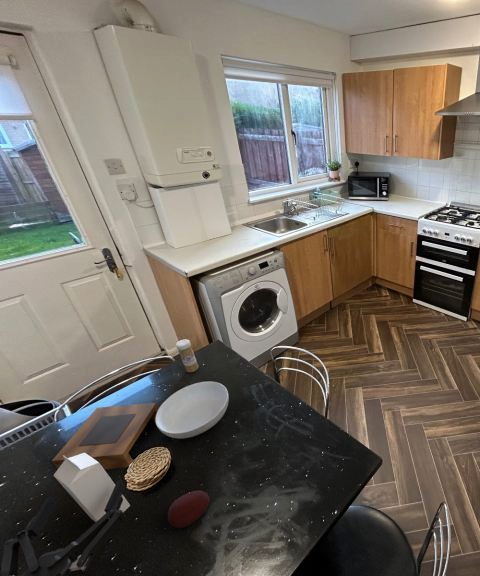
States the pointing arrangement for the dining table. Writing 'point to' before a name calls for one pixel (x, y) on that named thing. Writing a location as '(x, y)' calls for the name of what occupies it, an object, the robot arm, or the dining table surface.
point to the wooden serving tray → (109, 435)
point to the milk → (87, 484)
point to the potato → (188, 509)
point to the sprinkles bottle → (187, 355)
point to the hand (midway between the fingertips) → (87, 492)
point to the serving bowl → (192, 410)
